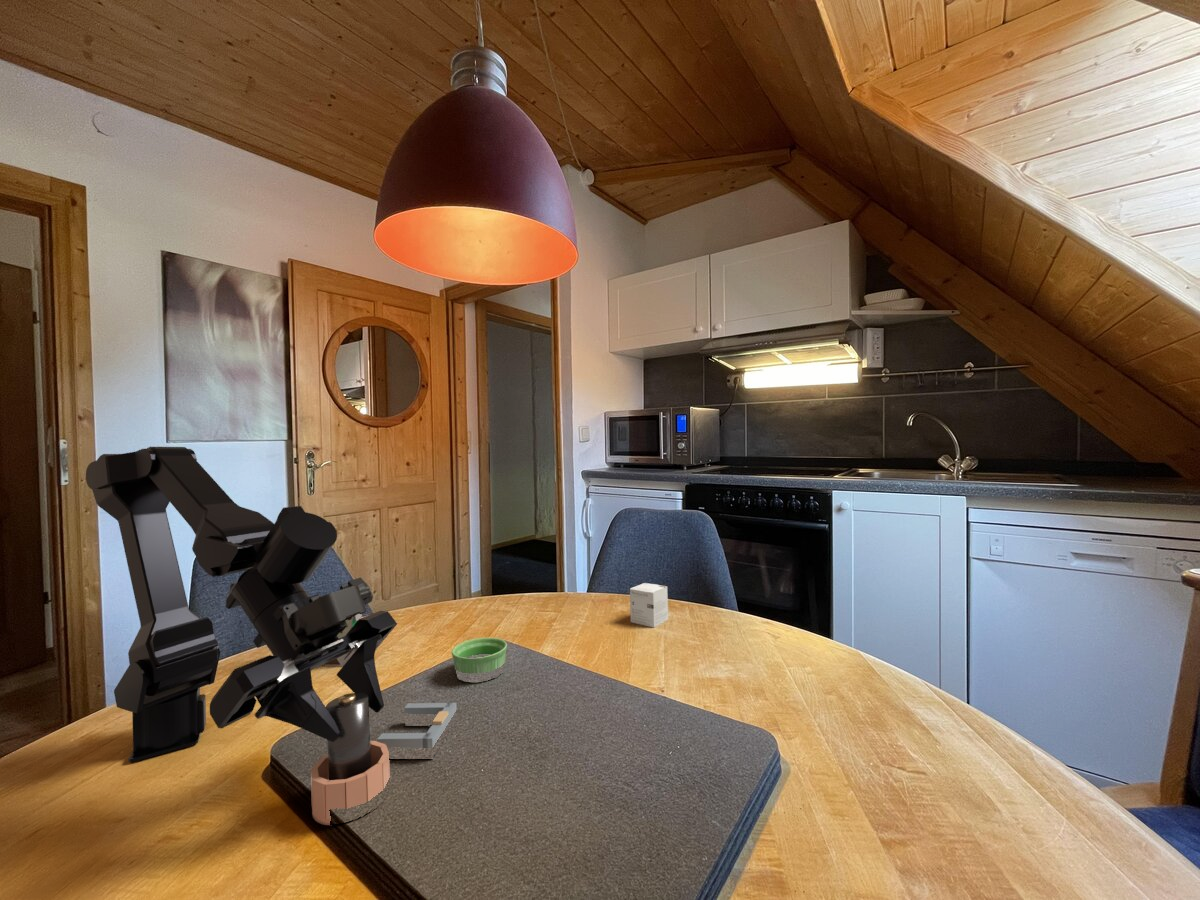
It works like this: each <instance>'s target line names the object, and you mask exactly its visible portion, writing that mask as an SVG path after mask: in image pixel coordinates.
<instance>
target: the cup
mask: <svg viewBox="0 0 1200 900" xmlns="http://www.w3.org/2000/svg"><path fill="white" fill-rule="evenodd" d="M370 744H371V764H372V767H371V768H370V769H369V770H367V771H366V772H364V773H362V774H359V775H356V776H353V777H350V778H348V779H341V780H328V779H329V768H328V753H327V754H325V755H323V756H322V757H320V758H319V759H318V760H317V761H316V762H315V764H314V765H313V766H312V768H311V769H310V789H311V790H310V792H311V793H310V795H311V796H310V797H311V800H310V801H311V814H312V815H311V816H312V819H314V821H315V822H317V824H321V825H324V826H331V825H330V821H331V816H330V811H329V810H330V809H336V808H337V809H338V808H340V809H342V808H343V809H345V808H347V809H348V808H351V807H354V806H357V805H360V804H364V803H366V802H367V801H370V800H371V799H372V798H373V797H375V796H376V795H378V793H380V792H381V791H383V789H384V788H385V786H386V784H387V782H388V780H389V778H390V779H391V772H390V770H391V769H390V766H391V765H390V764H391V763H390V761H391V760H389V751H388V748H387V746H386V745H385V744H383V743H380V742H377V740H370Z"/></svg>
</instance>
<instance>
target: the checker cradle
mask: <svg viewBox="0 0 1200 900" xmlns="http://www.w3.org/2000/svg"><path fill="white" fill-rule="evenodd" d="M456 710H458V709H457V702H422V703H421V702H418V703H415V702H414V703H411V702H410V703H409V702H408V703H407V704H406V705H405V706H404V709H403V712H404V713H408V714H409V713H410V714H434V715H435V714H437V715H436V717H435V718H434V720H433V721H432V726H429V728H428V730H427V731H426V732H396V733H395V732H393V733H392V732H391V733H390V732H388V733H387V732H386V733H385V732H384V733H381V734H380V735H379V737H377V738H376V739H377V740H376V741H377V742H380V743H383V744H385V745H386V746H387V747H390V748H391V747H401V748H402V747H403V748H404V747H412V748H413V747H415V748H416V747H417V748H421V747H422V748H433V747H434V745H435V743H436V742H437V740H438V739H439V737H440V736H441V734H442V733H443V731H444V730H445V728H446V726H447V725H448V723H449V722H450V720H451V718H452V717H453V715H454V713H455V712H456ZM404 713H403V714H404Z"/></svg>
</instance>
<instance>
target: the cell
mask: <svg viewBox="0 0 1200 900" xmlns="http://www.w3.org/2000/svg"><path fill="white" fill-rule="evenodd" d="M325 707H326V708H327V710H328V711H329V713H330V714H331V716H332V717H333V719H334V721H335V723H336V725H337V727H338V729H339V731H340V733H341V735H340V736H339V738H338V739H337V740H336V741H334V742H331V741H329V740H327V739H326V745H327V754H328V768H329V780H341V779H348V778H350V777H353V776H356V775H359V774H362V773H364V772H366V771H367V770H369V769H370V768H371V767H372V764H371V744H370V741H371V730H370V728H371V726H370V724H371V723H370V707H369V704H368V695H367V694H365V693H354V692H352V693H346V694H343V695H341V696H337V697H336V698H334V699H331V700H330V701H329V702H328V703H327V704H325Z"/></svg>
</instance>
